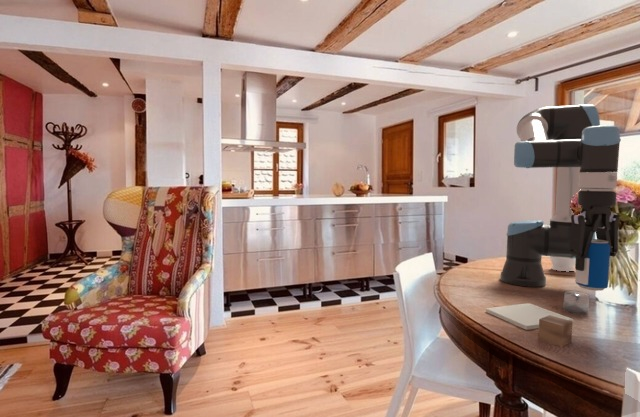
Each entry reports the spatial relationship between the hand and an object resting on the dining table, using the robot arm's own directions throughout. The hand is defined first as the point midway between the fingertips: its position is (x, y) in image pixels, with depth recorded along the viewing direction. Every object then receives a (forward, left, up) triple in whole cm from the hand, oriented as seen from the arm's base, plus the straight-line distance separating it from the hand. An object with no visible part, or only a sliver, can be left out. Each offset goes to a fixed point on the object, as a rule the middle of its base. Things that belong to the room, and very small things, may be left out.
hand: (591, 281), depth 93 cm
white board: (+7, -12, -12) cm, 19 cm away
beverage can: (0, 0, -2) cm, 2 cm away
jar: (-56, -52, -13) cm, 77 cm away
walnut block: (+14, +2, -13) cm, 19 cm away
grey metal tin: (-11, -12, -12) cm, 20 cm away
